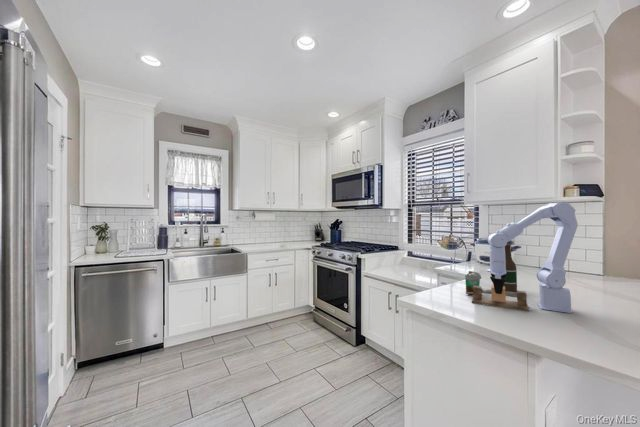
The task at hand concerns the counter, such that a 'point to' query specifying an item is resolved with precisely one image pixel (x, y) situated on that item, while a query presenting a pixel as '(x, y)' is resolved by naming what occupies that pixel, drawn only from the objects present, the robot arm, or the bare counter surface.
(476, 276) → the food container
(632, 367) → the counter surface
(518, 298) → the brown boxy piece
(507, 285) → the beer bottle
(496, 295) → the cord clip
